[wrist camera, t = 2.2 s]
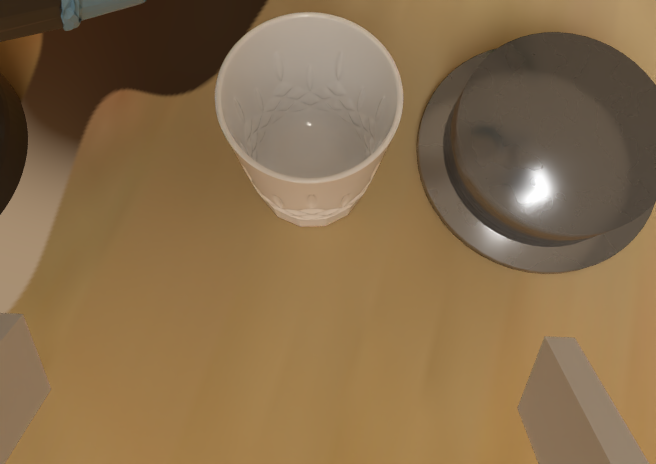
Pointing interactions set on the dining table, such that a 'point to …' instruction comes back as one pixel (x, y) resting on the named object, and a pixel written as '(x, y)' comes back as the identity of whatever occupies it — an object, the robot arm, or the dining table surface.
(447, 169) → the grey round shallow piece
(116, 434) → the dining table surface
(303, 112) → the white cup
